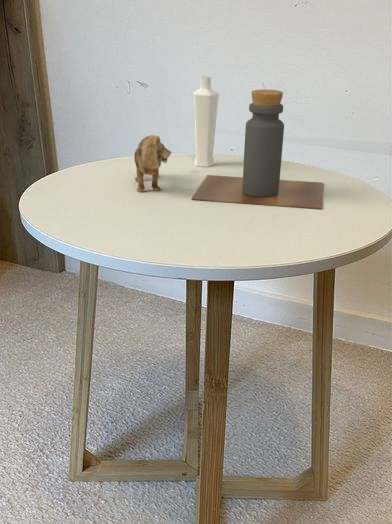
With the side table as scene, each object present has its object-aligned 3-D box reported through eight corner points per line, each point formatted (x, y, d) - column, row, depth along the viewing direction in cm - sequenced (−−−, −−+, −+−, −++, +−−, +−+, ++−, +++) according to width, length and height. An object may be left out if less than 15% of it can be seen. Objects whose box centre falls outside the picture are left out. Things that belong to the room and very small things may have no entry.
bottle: (273, 199, 93) (282, 95, 85) (237, 195, 95) (242, 92, 87) (282, 189, 98) (291, 90, 90) (247, 185, 100) (253, 87, 92)
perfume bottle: (218, 162, 113) (221, 75, 105) (213, 167, 110) (216, 78, 102) (194, 160, 114) (195, 74, 106) (189, 165, 110) (189, 77, 103)
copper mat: (323, 183, 102) (323, 182, 102) (322, 209, 90) (322, 208, 90) (207, 176, 105) (207, 174, 105) (191, 199, 93) (191, 198, 93)
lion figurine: (173, 197, 94) (172, 137, 89) (139, 198, 93) (137, 138, 88) (156, 172, 106) (155, 119, 102) (126, 173, 105) (124, 119, 101)
